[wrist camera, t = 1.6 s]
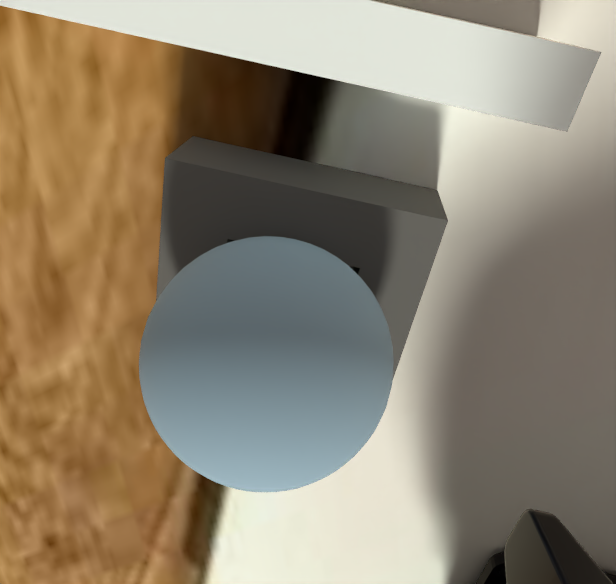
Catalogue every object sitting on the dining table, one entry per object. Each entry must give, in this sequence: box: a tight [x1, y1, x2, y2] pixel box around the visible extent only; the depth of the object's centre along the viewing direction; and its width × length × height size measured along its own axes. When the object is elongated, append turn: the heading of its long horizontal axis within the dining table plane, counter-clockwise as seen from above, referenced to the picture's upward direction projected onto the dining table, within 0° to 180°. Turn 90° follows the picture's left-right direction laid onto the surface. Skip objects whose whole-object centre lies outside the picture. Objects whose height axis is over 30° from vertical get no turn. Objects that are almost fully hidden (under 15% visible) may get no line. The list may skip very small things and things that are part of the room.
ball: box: [139, 236, 394, 492], centre depth 11 cm, size 5×5×5 cm
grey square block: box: [156, 136, 448, 380], centre depth 13 cm, size 6×6×2 cm
